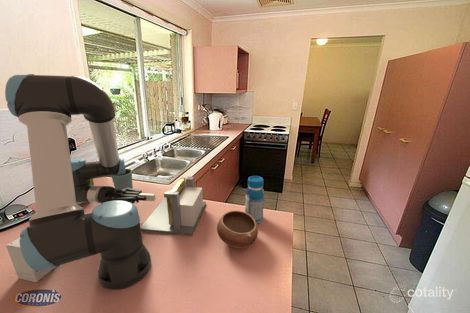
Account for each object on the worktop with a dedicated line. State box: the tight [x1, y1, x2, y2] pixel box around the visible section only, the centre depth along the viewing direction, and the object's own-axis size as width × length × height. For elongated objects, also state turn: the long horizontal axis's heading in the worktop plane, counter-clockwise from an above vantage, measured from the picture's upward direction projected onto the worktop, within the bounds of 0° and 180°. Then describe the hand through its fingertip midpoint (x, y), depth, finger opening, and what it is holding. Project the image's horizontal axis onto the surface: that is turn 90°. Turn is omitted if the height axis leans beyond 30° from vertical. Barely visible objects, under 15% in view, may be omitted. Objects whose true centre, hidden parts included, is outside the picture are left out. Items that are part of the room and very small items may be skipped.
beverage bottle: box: [244, 175, 265, 224], centre depth 94 cm, size 8×8×20 cm
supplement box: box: [5, 237, 56, 283], centre depth 66 cm, size 7×7×13 cm
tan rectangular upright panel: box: [166, 177, 187, 225], centre depth 95 cm, size 2×19×13 cm, turn 175°
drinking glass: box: [110, 168, 134, 190], centre depth 116 cm, size 10×10×12 cm
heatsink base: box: [140, 176, 207, 236], centre depth 95 cm, size 22×24×17 cm
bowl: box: [216, 210, 259, 249], centre depth 82 cm, size 16×16×10 cm
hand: (154, 197), depth 91 cm, fingers closed
